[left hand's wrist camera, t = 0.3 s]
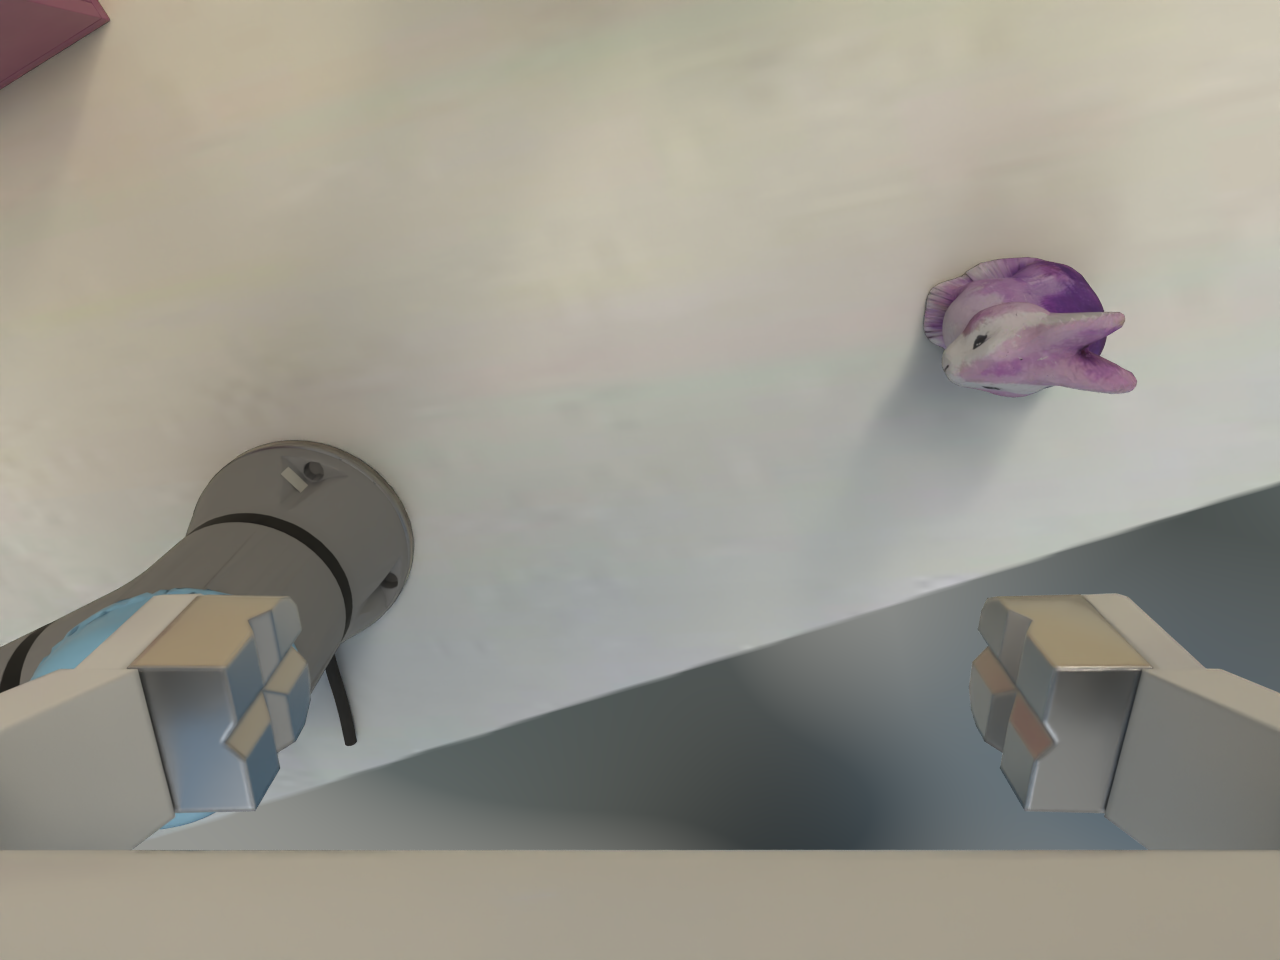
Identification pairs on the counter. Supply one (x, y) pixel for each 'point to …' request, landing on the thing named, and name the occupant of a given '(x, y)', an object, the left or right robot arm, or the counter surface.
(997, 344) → the figurine
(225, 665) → the left robot arm
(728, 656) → the counter surface
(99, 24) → the chest
